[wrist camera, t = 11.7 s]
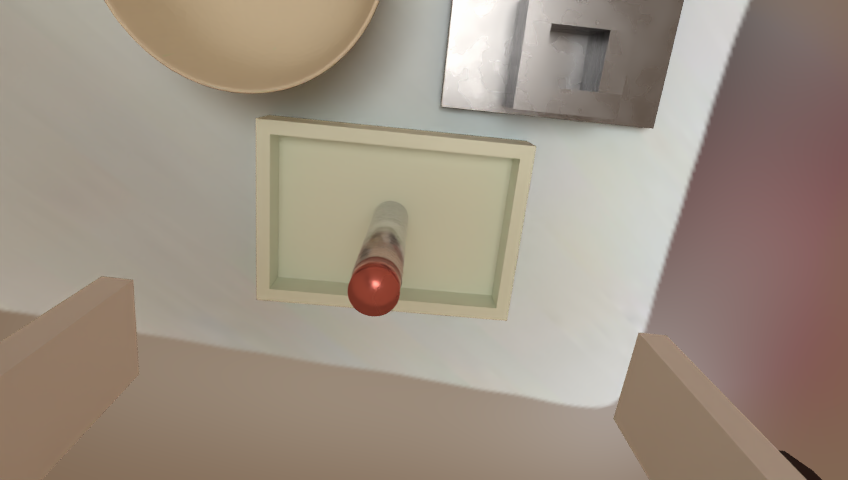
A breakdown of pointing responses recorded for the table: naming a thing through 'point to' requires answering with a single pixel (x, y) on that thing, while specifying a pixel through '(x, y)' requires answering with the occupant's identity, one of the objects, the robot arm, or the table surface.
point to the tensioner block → (561, 58)
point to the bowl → (246, 38)
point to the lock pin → (380, 262)
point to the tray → (379, 182)
